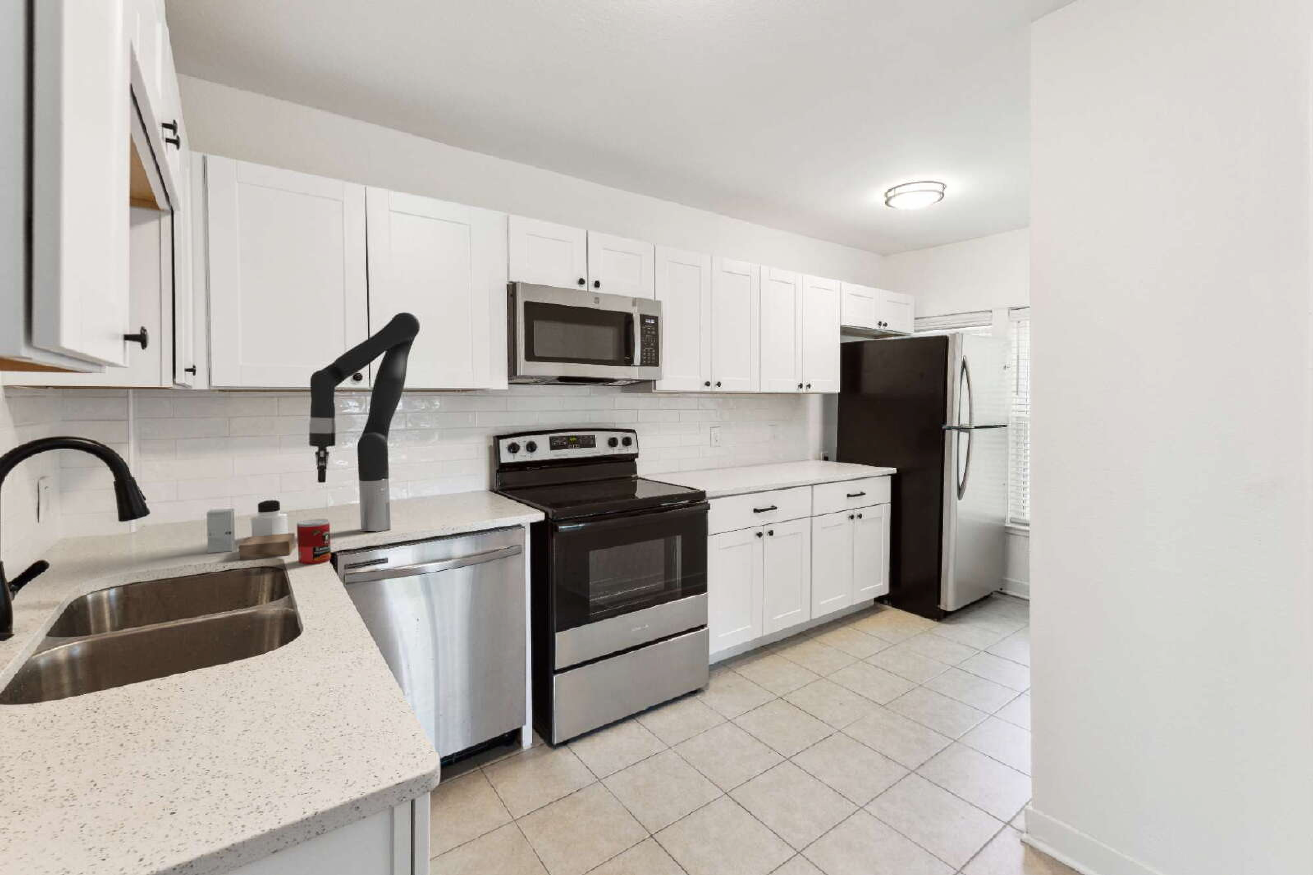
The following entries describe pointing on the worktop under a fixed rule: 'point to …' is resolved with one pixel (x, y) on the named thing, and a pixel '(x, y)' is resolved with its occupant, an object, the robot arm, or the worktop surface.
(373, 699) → the worktop surface
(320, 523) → the canned food
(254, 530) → the medicine bottle
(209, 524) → the skincare box
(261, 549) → the walnut base
